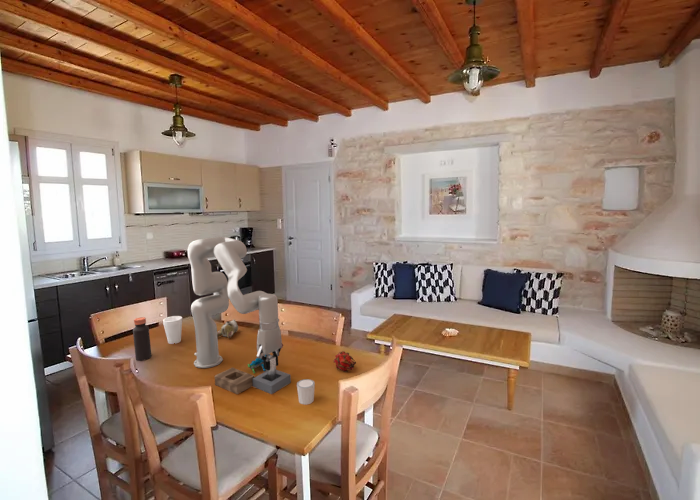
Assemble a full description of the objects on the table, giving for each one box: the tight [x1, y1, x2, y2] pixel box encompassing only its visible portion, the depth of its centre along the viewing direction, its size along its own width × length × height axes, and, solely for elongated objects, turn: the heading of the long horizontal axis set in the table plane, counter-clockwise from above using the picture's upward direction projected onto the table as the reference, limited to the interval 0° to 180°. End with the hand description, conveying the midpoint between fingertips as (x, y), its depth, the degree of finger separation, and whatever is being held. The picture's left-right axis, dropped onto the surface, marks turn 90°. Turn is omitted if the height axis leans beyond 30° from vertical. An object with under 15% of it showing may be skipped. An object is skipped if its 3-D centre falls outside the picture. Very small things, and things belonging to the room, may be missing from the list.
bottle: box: [132, 316, 152, 362], centre depth 177 cm, size 7×7×20 cm
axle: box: [265, 354, 277, 382], centre depth 150 cm, size 4×4×10 cm
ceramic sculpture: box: [217, 319, 239, 339], centre depth 206 cm, size 11×9×15 cm
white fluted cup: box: [296, 378, 316, 406], centre depth 138 cm, size 7×7×7 cm
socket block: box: [252, 369, 292, 395], centre depth 151 cm, size 11×11×4 cm
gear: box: [247, 353, 271, 374], centre depth 164 cm, size 11×6×10 cm
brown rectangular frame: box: [214, 367, 255, 395], centre depth 151 cm, size 14×9×4 cm, turn 56°
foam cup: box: [162, 315, 183, 345], centre depth 198 cm, size 10×9×13 cm
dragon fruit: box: [333, 350, 357, 373], centre depth 163 cm, size 8×8×12 cm
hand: (271, 366), depth 150 cm, fingers closed on axle, 3 cm apart
